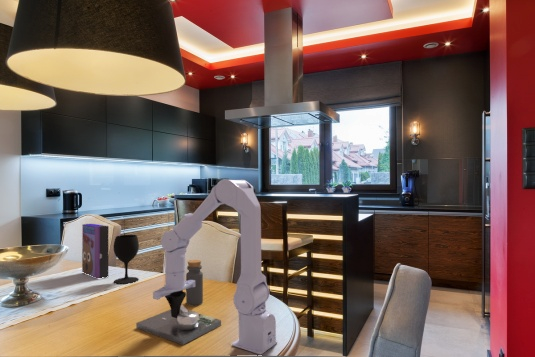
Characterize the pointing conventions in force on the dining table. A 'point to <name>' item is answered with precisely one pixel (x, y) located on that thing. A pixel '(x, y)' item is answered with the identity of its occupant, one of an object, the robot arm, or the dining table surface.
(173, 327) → the lever base plate
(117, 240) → the wine glass
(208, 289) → the dining table surface
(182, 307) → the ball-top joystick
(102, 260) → the cereal box
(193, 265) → the bottle
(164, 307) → the dining table surface
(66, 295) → the dining table surface
